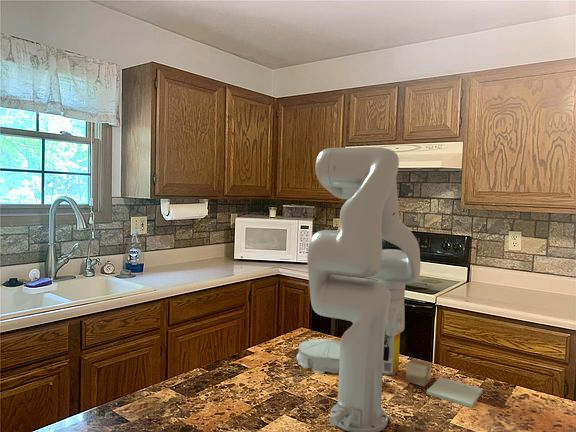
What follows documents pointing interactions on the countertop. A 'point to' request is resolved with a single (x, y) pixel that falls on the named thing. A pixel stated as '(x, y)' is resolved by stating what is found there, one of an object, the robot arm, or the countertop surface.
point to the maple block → (418, 372)
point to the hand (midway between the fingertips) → (387, 355)
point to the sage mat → (455, 392)
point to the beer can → (392, 354)
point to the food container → (320, 355)
